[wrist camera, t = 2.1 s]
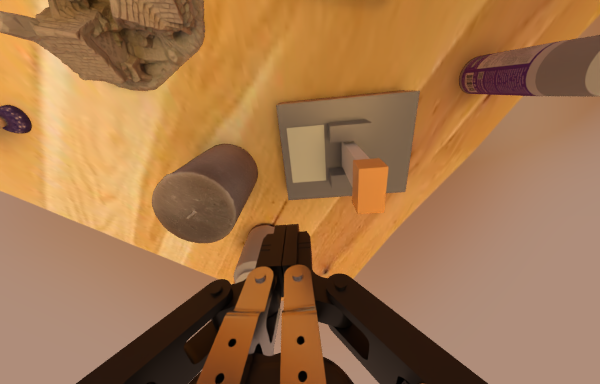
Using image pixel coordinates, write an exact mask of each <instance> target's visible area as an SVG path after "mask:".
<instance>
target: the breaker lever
mask: <svg viewBox="0 0 600 384" xmlns="http://www.w3.org/2000/svg"><path fill="white" fill-rule="evenodd" d="M342 168H343V169H344V171H345V173H346V175H347V177H348V180H349V182H350V184H351V186H352V202H353V205H354V207H355V209H356V212H357V214H368V213H383V212H384V208H385V198H386V188H387V178H388V166H387V165H386V164H385V163H384V162H383V161H382V160H381V159H380V158H374V159H370V158H369V157H368V156H367V155H366V154H365V153H364V152H363V151H362V150H361V149H360V147H359V146H358V145H357V144H356V143H355V142H354V141H349V142H342Z"/></svg>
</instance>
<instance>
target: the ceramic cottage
mask: <svg viewBox="0 0 600 384" xmlns="http://www.w3.org/2000/svg"><path fill="white" fill-rule="evenodd" d="M48 2H49V7H48V8H45V9H44V10H43V11H42V12H41V13H40V14H37V15H36V19H35V18H31V17H27V16H23V15H18V14H13V13H7V12H2V11H0V32H1V33H4V34H8V35H12V36H15V37H19V38H23V39H27V40H31V41H34V42H36V43H38V44H39V45H41V46H42V47H44V49H47V50H48V51H49V52H50V53H52V54H54V55H55V56H56V57H58V58H59V59H60V60H61V61H62V63H64V64H66V65H68V66H69V67H70V68H71V69H72V70H73V71H74V72H75V73H78V74H79V77H80V78H81V79H83V80H96V81H106V82H108V83H111V84H114V85H117V86H118V87H122V88H126V89H130V90H138V91H148V90H154V89H157V88H158V87H159V86H160V85H161V84H163V83H164V82H165V81H166V80H167V79H168V78H169V77H170V76H171V75H172V74H173V73H174V72H175V71H176V70H178V69H179V67H180V66H182V65H183V64H184V63H185V62H186V61H187V60H189V58H190V57H192V56H193V55H194V54H195V53H196V52H198V50H199V49H200V47H201V45H202V44H203V40H204V32H205V25H204V21H203V15H204V8H203V7H204V4H203V3H204V1H203V0H48Z"/></svg>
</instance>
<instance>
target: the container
mask: <svg viewBox="0 0 600 384" xmlns="http://www.w3.org/2000/svg"><path fill="white" fill-rule="evenodd" d="M459 84H460V87H461V89H462V90H463V91H464V92H466V93H469V94H493V95H521V96H600V35H598V36H591V37H585V38H578V39H572V40H565V41H559V42H554V43H548V44H543V45H537V46H532V47H527V48H521V49H516V50H510V51H505V52H500V53H494V54H489V55H483V56H479V57H476V58H474V59H472V60H471V61H469V62H468V63H467V64H466V66H465V67H464V68H463V70H462V72H461V74H460V78H459Z"/></svg>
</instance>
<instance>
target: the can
mask: <svg viewBox="0 0 600 384" xmlns="http://www.w3.org/2000/svg"><path fill="white" fill-rule="evenodd" d="M274 229H275V227H272V226H269V225H262V226H258V227H256V228H254V229H252V230H251V232H250V233H249V235H248V238H247V240H246V243H245V246H244V248H243V251H242V253H241V256H240V259H239V261H238V264H237V266H236V269H235V272H234V280H235V283H238V282H241V281H244V280H246V279H247V276H248V274H249V273H250V272H251V271H252V270H254V269H255V267H256V263H257V259H258V256H259V252H260V248H261V245H262V241H263V239H264V237H265V236H266V235H267V234H273V233H274Z"/></svg>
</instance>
